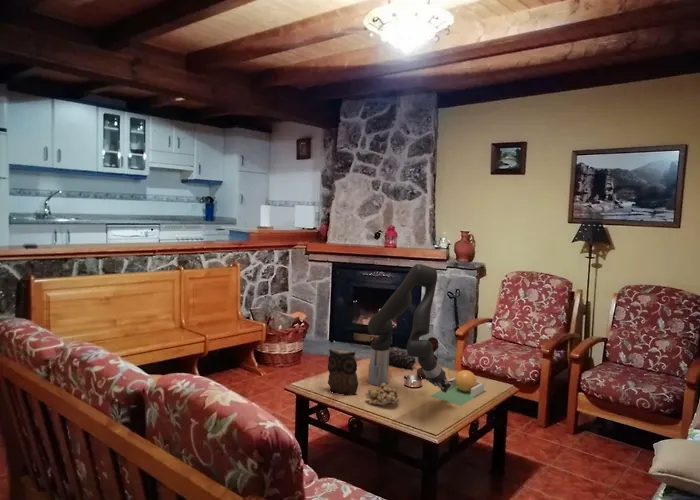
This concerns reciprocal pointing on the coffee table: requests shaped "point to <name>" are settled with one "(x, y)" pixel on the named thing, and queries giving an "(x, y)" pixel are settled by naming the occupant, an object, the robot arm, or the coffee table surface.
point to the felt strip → (455, 396)
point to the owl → (342, 372)
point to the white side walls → (474, 391)
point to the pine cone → (400, 359)
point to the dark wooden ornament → (435, 347)
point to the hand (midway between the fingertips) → (445, 390)
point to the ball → (465, 380)
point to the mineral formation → (382, 395)
